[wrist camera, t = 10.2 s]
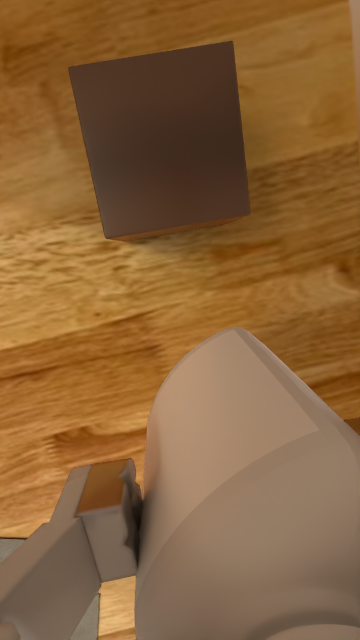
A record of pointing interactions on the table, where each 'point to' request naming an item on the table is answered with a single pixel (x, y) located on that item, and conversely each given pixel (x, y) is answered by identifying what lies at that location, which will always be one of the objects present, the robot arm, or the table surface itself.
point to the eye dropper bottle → (247, 504)
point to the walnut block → (164, 140)
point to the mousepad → (88, 626)
